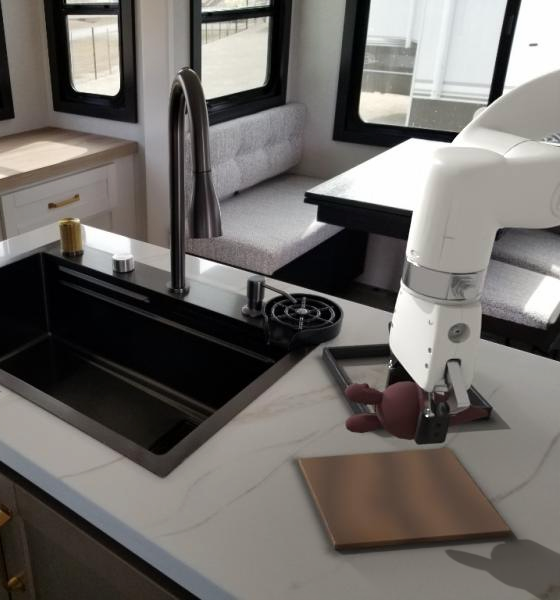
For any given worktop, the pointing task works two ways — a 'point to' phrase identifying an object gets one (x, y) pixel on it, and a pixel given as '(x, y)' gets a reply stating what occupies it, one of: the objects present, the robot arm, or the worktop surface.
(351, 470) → the board
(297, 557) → the worktop surface
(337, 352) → the black square frame
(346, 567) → the worktop surface
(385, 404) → the icecream
